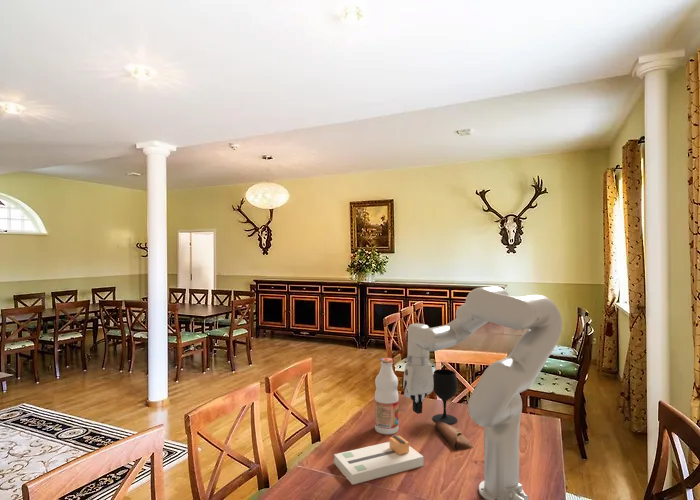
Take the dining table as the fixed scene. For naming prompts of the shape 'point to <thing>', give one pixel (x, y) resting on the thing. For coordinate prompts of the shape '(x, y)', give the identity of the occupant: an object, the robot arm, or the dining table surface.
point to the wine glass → (444, 392)
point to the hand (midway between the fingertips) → (417, 412)
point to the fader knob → (399, 444)
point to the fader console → (375, 462)
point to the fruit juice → (386, 399)
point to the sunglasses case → (453, 436)
